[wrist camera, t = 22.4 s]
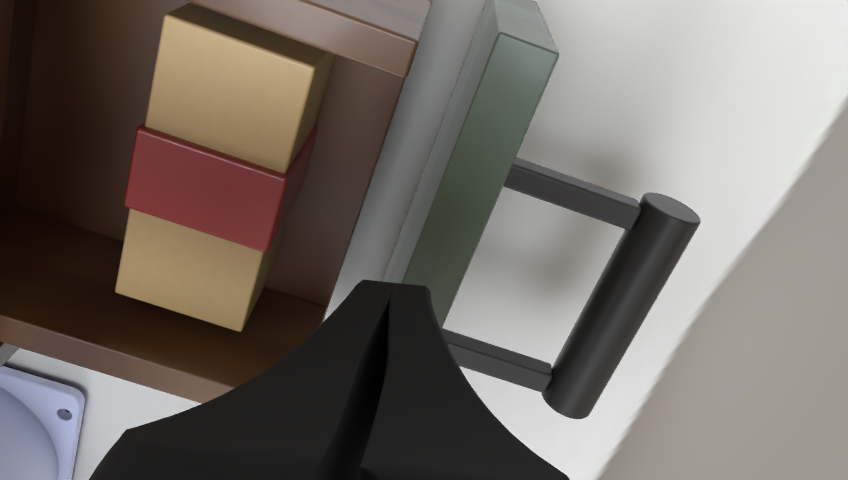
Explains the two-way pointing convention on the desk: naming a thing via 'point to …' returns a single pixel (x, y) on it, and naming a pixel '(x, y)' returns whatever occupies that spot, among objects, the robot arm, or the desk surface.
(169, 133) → the box with red band
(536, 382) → the drawer
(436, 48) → the desk surface
